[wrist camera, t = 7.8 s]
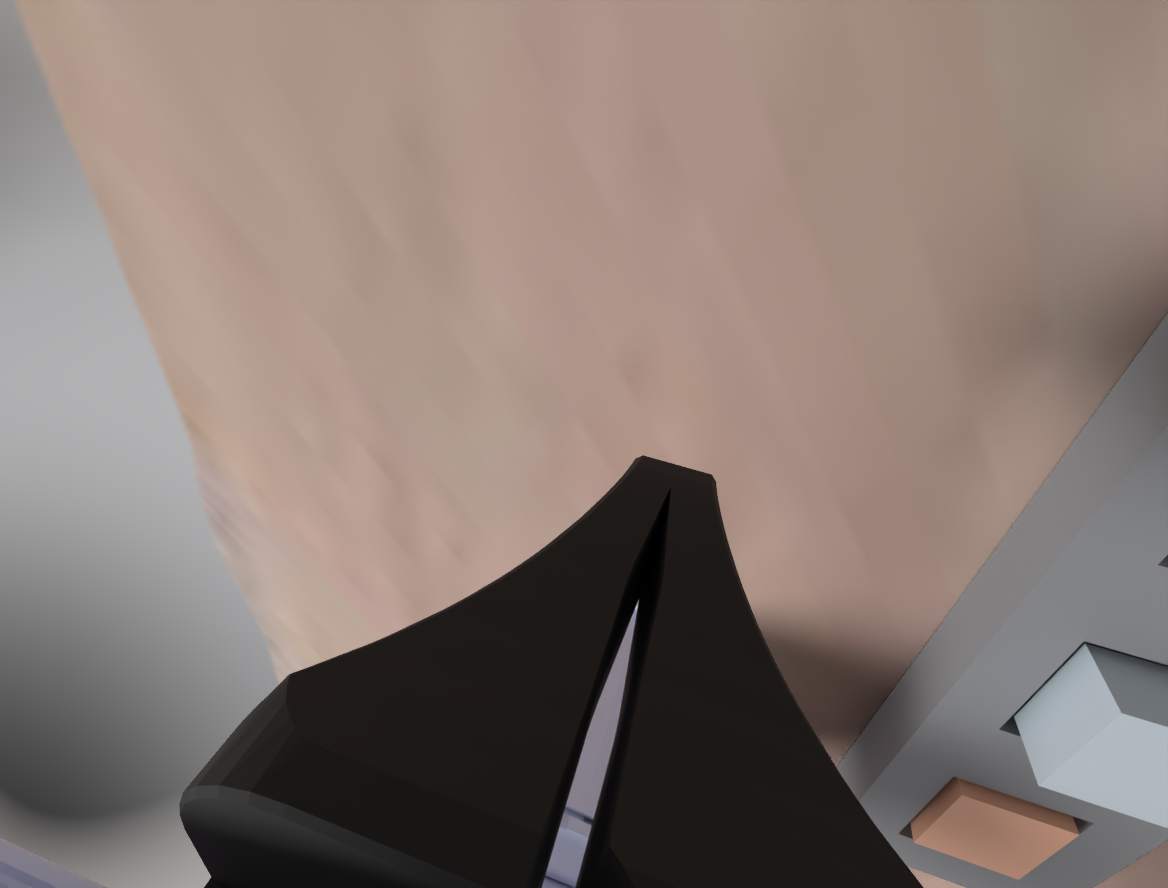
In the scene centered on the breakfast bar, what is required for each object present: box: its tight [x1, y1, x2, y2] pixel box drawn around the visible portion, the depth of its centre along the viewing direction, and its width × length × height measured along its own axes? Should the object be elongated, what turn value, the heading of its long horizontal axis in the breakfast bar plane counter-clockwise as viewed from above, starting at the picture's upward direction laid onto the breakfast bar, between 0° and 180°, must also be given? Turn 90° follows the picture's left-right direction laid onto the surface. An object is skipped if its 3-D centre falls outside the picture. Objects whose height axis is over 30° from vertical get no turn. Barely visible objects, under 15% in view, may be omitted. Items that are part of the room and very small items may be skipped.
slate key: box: [1014, 643, 1168, 828], centre depth 18 cm, size 4×4×2 cm
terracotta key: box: [910, 777, 1079, 880], centre depth 24 cm, size 4×4×2 cm
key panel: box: [836, 313, 1168, 888], centre depth 19 cm, size 25×9×2 cm, turn 172°
